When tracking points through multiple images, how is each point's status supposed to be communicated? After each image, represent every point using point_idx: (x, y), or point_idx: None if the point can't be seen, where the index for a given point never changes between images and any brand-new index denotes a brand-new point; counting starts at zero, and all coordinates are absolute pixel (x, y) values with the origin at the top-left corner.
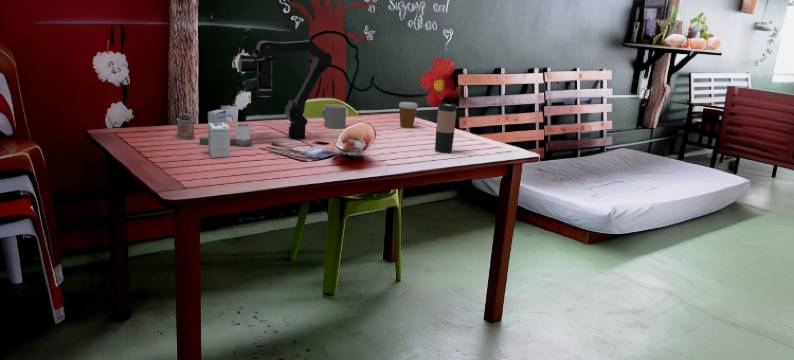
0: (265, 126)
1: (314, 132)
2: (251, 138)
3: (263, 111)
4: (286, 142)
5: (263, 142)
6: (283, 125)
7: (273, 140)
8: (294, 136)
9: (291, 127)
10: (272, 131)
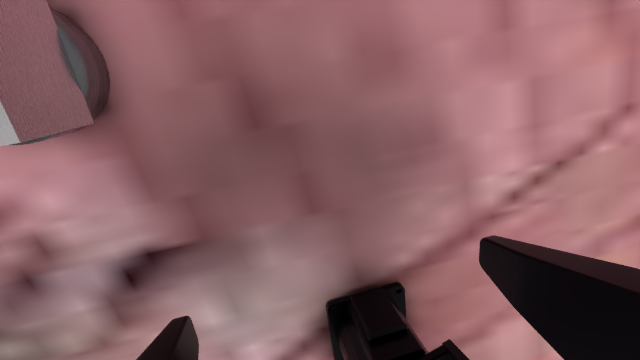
0: (608, 115)
1: (486, 351)
2: (16, 144)
3: (168, 335)
4: (237, 305)
5: (187, 191)
6: (624, 198)
7: (266, 232)
8: (340, 325)
9: (365, 349)
10: (492, 177)
